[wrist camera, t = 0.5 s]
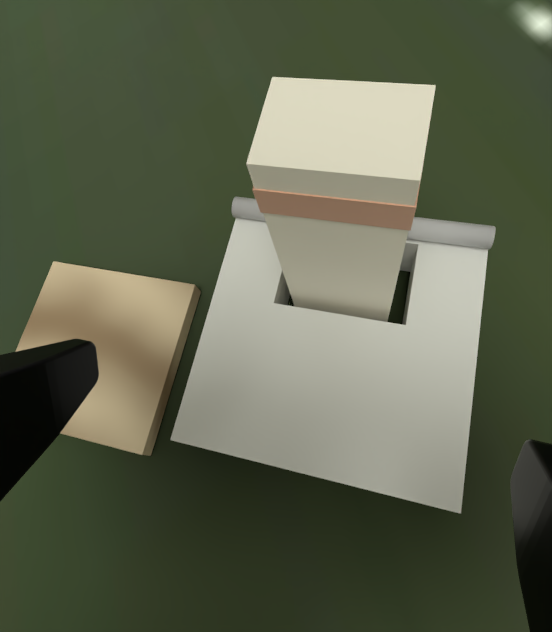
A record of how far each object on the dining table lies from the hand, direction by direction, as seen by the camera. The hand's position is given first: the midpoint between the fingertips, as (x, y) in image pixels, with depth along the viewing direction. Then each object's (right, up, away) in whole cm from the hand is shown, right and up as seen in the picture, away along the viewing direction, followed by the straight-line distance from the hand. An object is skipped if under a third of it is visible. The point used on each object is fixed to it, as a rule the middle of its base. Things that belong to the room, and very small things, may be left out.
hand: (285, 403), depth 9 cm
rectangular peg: (+4, +3, +14) cm, 15 cm away
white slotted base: (+3, 0, +13) cm, 14 cm away
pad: (-10, 0, +15) cm, 18 cm away
